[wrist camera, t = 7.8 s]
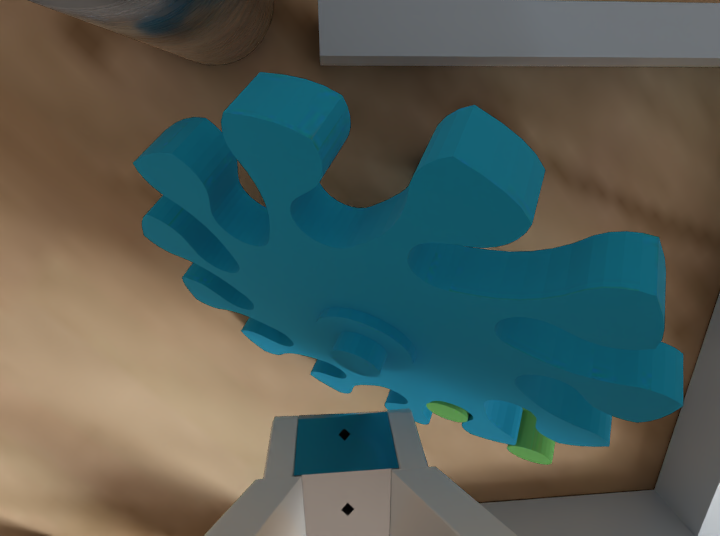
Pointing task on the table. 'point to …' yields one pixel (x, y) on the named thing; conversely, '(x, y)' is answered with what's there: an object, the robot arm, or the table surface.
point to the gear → (416, 272)
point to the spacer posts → (180, 24)
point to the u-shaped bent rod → (567, 48)
